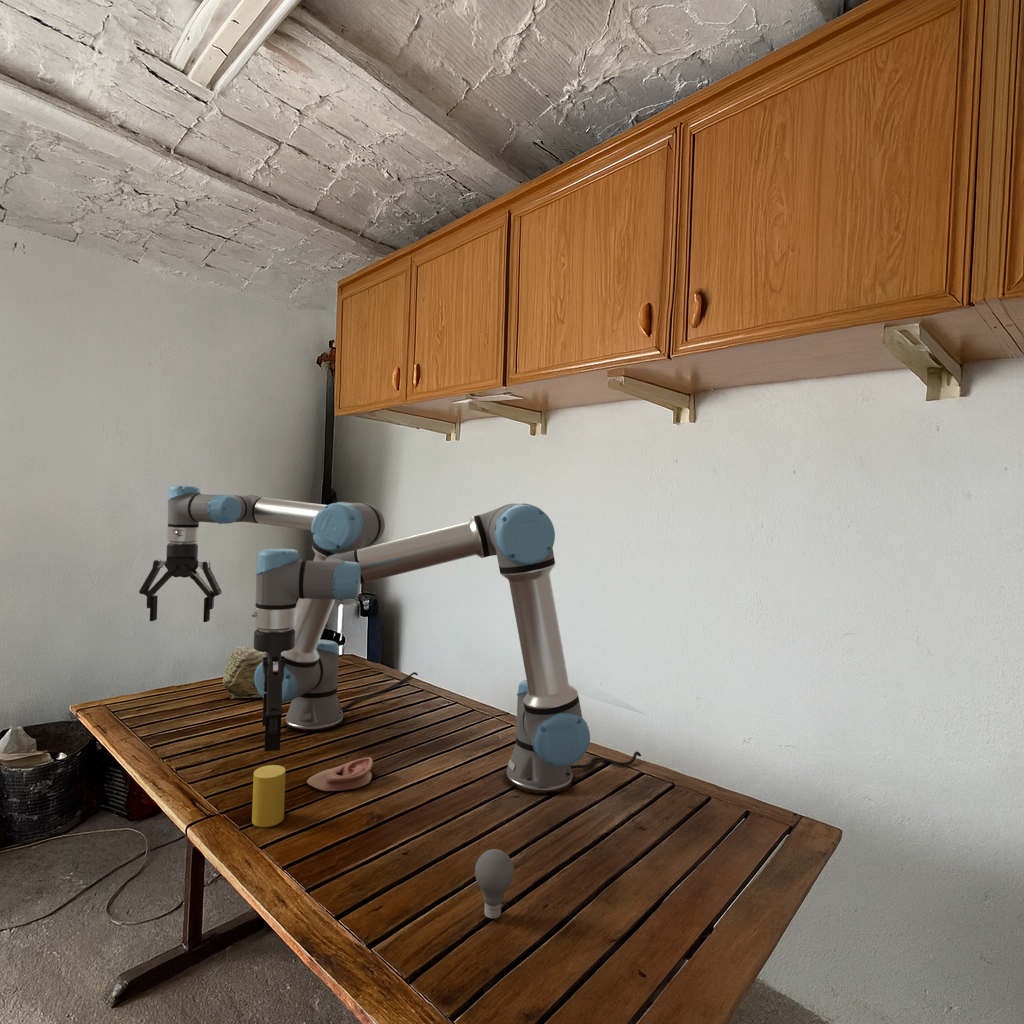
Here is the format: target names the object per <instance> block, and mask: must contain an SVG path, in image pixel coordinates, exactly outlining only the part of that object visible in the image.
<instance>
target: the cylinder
mask: <svg viewBox="0 0 1024 1024" xmlns="http://www.w3.org/2000/svg"><path fill="white" fill-rule="evenodd" d="M286 770H287V769H286V768H285V767H284V766H282V765H278V764H268V765H263V766H260V767H258V768H256V769H255V770H254V771H253V776H252V777H253V779H252V808H251V823H252V825H253V826H254V827H257V828H258V827H259V828H269V827H274V826H276V825H279V824H280V823H281V822H283V820H284V818H285V801H286V799H285V798H286V797H285V795H286V774H287V773H286Z"/></svg>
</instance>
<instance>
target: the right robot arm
mask: <svg viewBox="0 0 1024 1024" xmlns="http://www.w3.org/2000/svg"><path fill="white" fill-rule="evenodd" d="M555 539H556V531H555V527H554V524H553V522H552V520H551V518H550V517H549V516H548V514H546V512H544V511H543V510H542V509H541V508H539V507H537V506H535V505H533V504H530V503H508V504H505V505H502V506H499V507H497V508H495V509H493V510H490V511H487V512H484V513H481V514H477V515H473V516H471V517H470V519H469V520H468V521H467V522H463V523H459V524H455V525H451V526H447V527H442V528H439V529H434V530H431V531H427V532H422V533H419V534H415V535H411V536H406V537H402V538H397V539H394V540H391V541H386V542H382V543H378V544H373V545H370V546H366V547H362V548H361V549H357V550H355V551H349V552H345V553H336V554H333V555H330V556H328V557H327V558H325V559H324V560H323V561H313V560H307V559H306V560H305V559H300V555H299V551H298V550H296V549H292V548H265V549H262V550H261V551H260V552H259V553H258V556H257V564H256V572H255V580H256V581H255V611H252V612H251V617H252V618H254V627H255V628H256V629H255V630H254V631H253V649H255V650H257V651H260V652H265V653H266V657H263V673H264V682H263V685H264V692H267V693H264V697H263V698H262V699H263V700H262V716H261V717H262V722H261V724H262V727H264V743H263V744H264V745H263V746H264V747H263V749H264V750H263V751H264V753H266V752H275V751H281V735H282V733H281V732H282V717H283V704H282V682H283V679H284V668H285V659H284V656H281V652H283V651H288V650H291V649H293V648H294V646H295V630H294V629H293V627H295V626H296V612H297V606H296V604H297V602H298V599H299V598H301V599H305V598H306V599H335V601H336V600H338V601H344V600H355V599H357V598H359V596H360V591H361V585H363V584H366V583H369V582H374V581H378V580H382V579H387V578H390V577H393V576H394V577H395V576H398V575H402V574H406V573H410V572H414V571H417V570H422V569H426V568H430V567H434V566H439V565H441V564H446V563H449V562H453V561H459V560H461V559H465V558H469V557H473V556H477V557H479V558H481V559H483V558H488V557H492V556H493V557H494V556H496V559H497V564H498V571H499V574H500V575H501V576H502V577H504V578H505V579H507V580H508V583H509V589H510V595H511V600H512V606H513V611H514V612H513V613H514V617H515V622H516V628H517V629H516V630H517V634H518V640H519V645H520V650H521V656H522V662H523V667H524V672H525V673H524V674H525V679H524V680H521V681H520V682H519V684H518V687H517V693H516V696H517V702H516V727H515V729H516V730H515V744H514V745H515V746H514V748H513V751H512V753H511V755H510V758H509V761H508V763H507V767H506V774H505V777H506V781H507V783H508V784H509V785H510V786H511V787H513V788H514V789H516V790H519V791H522V792H525V793H528V794H535V795H552V794H558V793H561V792H564V791H566V790H567V789H569V788H570V787H571V786H572V784H573V771H572V770H574V769H588V768H591V767H592V766H593V764H594V762H596V761H600V762H601V761H602V762H606V763H610V764H612V765H617V766H621V767H626V766H630V765H632V764H633V763H634V762H635V760H636V758H637V756H638V757H642V754H641V753H640V752H639V751H635V752H634V753H633V755H632V757H631V759H630V760H628V761H625V762H624V761H623V762H622V761H616V760H613V759H610V758H607V757H604V756H603V757H602V756H596V757H593V758H591V759H590V761H589V762H588V763H587V764H576V763H577V762H578V761H580V760H581V759H583V756H584V755H585V754H586V753H587V751H588V749H589V747H590V743H591V733H590V729H589V726H588V723H587V721H586V720H585V719H584V718H583V714H582V708H581V702H580V697H579V692H578V689H576V688H575V687H573V685H570V682H569V676H568V671H567V666H566V665H567V664H566V659H565V653H564V647H563V642H562V636H561V631H560V625H559V620H558V613H557V607H556V601H555V596H554V591H553V585H552V580H551V571H552V570H553V569H554V568H555V566H556V560H555V554H554V544H555Z"/></svg>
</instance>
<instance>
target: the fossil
mask: <svg viewBox="0 0 1024 1024" xmlns="http://www.w3.org/2000/svg"><path fill="white" fill-rule="evenodd" d="M263 657H266V652H260V651H257V650H255V649H254V648H251V647H247V646H246V647H245V646H238V647H237V648H236V649H235V650H233V651H232V653H231V656H230V657H229V659H228V660H227V663H226V666H225V668H224V671H223V675H222V676H223V677H222V685H223V687H224V688H225V690H226V691H228V693H229V698H230V699H250V698H262V696H261V695H260V694H259V692H258V689H257V687H256V686H255V681H254V676H255V671H256V669H257V667H258V666H259V665H260V664H261V663H262V662H263Z"/></svg>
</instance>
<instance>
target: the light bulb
mask: <svg viewBox="0 0 1024 1024" xmlns="http://www.w3.org/2000/svg"><path fill="white" fill-rule="evenodd" d="M514 874H515V867H514V863H513V861H512V859H511V857H510V856H509V855H508V854H507V853H506V852H505V851H503V850H501V849H498V848H491V849H487V850H486V851H484V852H483V853H482V854H481V855H480V856H479V857H478V859H477V861H476V863H475V867H474V876H475V880H476V882H477V884H478V886H479V888H480V890H481V893H482V899H483V901H484V910H483V911H484V912H483V914H484V916H485V917H487V918H489V919H498V918H499V917H501V914H502V903H503V901H504V898H505V893H506V891H507V890H508V888H509V887H510V885H511V883H512V882H513V879H514V876H515V875H514Z"/></svg>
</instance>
